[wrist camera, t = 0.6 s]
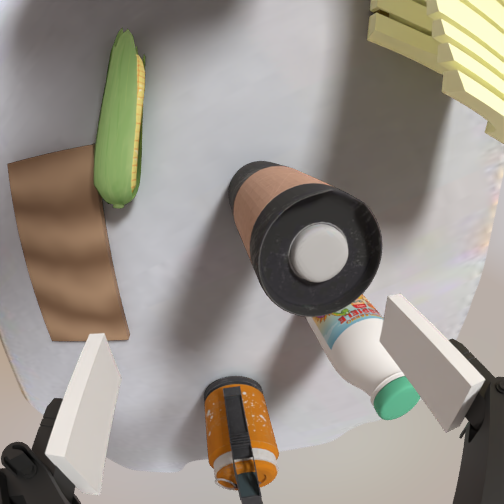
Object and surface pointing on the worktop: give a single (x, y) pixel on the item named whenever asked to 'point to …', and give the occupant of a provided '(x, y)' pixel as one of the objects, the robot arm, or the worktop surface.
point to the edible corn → (120, 124)
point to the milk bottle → (365, 357)
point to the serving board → (67, 244)
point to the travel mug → (304, 238)
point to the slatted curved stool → (451, 47)
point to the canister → (240, 437)
